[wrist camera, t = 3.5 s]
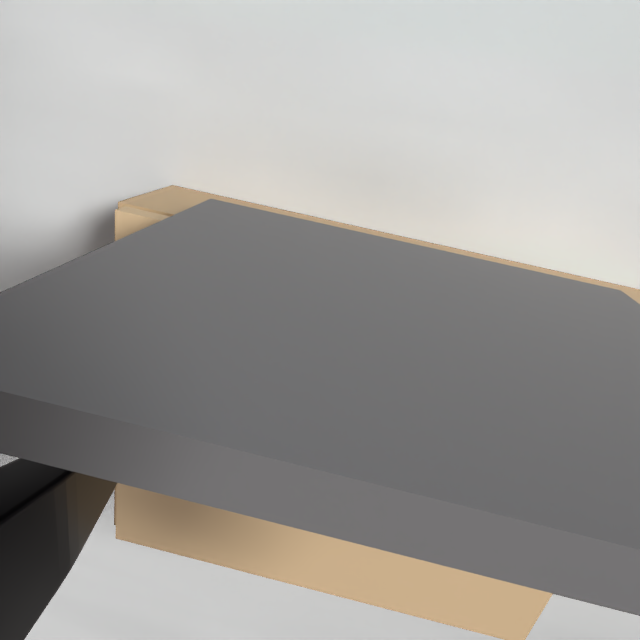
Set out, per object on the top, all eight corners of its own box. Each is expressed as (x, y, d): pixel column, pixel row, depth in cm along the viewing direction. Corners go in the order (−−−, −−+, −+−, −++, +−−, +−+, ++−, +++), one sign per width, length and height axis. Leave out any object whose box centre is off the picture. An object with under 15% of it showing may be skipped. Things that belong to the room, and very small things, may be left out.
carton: (505, 550, 23) (531, 646, 19) (156, 462, 24) (106, 535, 20) (639, 289, 17) (720, 343, 13) (172, 185, 18) (107, 205, 14)
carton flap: (598, 504, 16) (874, 1008, 7) (122, 387, 17) (-191, 703, 8) (714, 311, 13) (1464, 754, 4) (126, 179, 14) (-381, 296, 5)
